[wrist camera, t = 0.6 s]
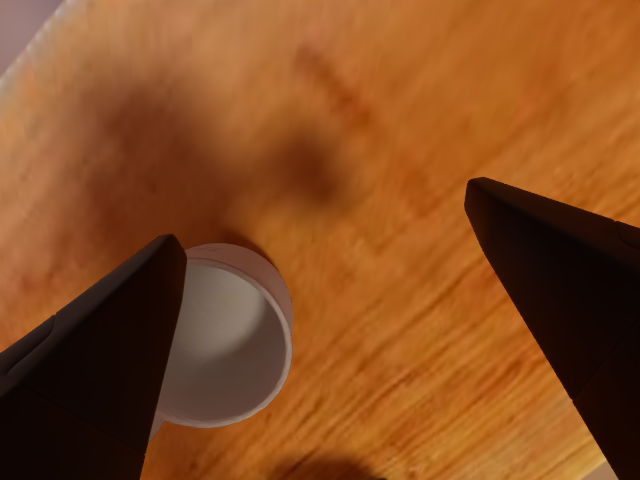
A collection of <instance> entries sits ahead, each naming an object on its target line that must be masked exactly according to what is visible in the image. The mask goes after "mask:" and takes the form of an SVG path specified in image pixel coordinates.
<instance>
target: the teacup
mask: <svg viewBox="0 0 640 480" xmlns="http://www.w3.org/2000/svg"><path fill="white" fill-rule="evenodd" d="M184 251H185V252H186V255H187V267H186V275H185V284H184V292H183V299H182V304H181V309H180V313H179V317H178V321H177V326H176V330H175V334H174V338H173V342H172V346H171V350H170V355H169V359H168V363H167V367H166V371H165V375H164V379H163V384H162V388H161V392H160V396H159V400H158V404H157V408H156V413H155V417H154V421H153V425H152V429H151V433H150V437H149V441H151V440H152V439H153V438H154V436H155V435H156V433H157V432H158V430H159V429H160V427H161V426H162V424H163V422H164V421H168V422H171V423H175V424H178V425H185V426H188V427H196V428H214V427H221V426H226V425H230V424H234V423H237V422H240V421H242V420H244V419H247V418H249V417H251V416H252V415H254V414H255V413H257V412H258V411H260V410H261V409H263V408H264V407H266V406H267V405H268V404H269V403H270V402H271V401H272V400H273V399H274V398H275V396H276V395H277V394H278V393H279V391H280V389H281V388H282V386H283V384H284V382H285V380H286V378H287V375H288V372H289V369H290V366H291V361H292V325H293V312H292V303H291V298H290V294H289V291H288V289H287V286H286V284H285V282H284V280H283V278H282V277H281V275H280V274H279V273H278V271H277V270H276V269H275V267H274V266H273V265H272V264H270V263H269V262H268V261H267V260H266V259H265V258H263V257H262V256H261V255H259V254H257V253H256V252H254V251H252V250H249V249H247V248H244V247H241V246H238V245H233V244H227V243H210V244H203V245H199V246H195V247H192V248H189V249H187V250H184Z"/></svg>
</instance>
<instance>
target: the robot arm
mask: <svg viewBox="0 0 640 480" xmlns="http://www.w3.org/2000/svg"><path fill="white" fill-rule="evenodd" d="M464 207H465V211H466V214H467V216H468V218H469V221H470V223H471V225H472V228H473V230H474V232H475V235H476V237H477V239H478V241H479V244H480V246H481V248H482V250H483V252H484V254H485V256H486V258H487V259H488V261H489V263H490V264H491V266H492V268H493V269H494V271H495V273H496V274H497V276H498V278H499V279H500V281H501V283H502V284H503V286H504V288H505V289H506V291H507V293H508V294H509V296H510V298H511V300H512V301H513V303H514V305H515V306H516V308H517V310H518V311H519V313H520V315H521V316H522V318H523V320H524V321H525V323H526V325H527V326H528V328H529V330H530V331H531V333H532V335H533V336H534V338H535V340H536V341H537V343H538V345H539V346H540V348H541V350H542V351H543V353H544V355H545V357H546V358H547V360H548V362H549V363H550V365H551V367H552V368H553V370H554V372H555V373H556V375H557V377H558V378H559V380H560V382H561V383H562V385H563V387H564V388H565V390H566V392H567V393H568V395H569V397H570V398H571V399H572V400H573V401H572V402H573V404H574V406H575V407H576V409H577V411H578V412H579V414H580V416H581V417H582V419H583V421H584V422H585V424H586V426H587V427H588V429H589V431H590V432H591V434H592V436H593V437H594V439H595V441H596V442H597V444H598V446H599V447H600V449H601V451H602V453H603V454H604V456H605V458H606V459H607V461H608V463H609V464H610V466H611V468H612V469H613V471H614V472H615V474H616V476H617V477H618V479H619V480H640V228H637V227H634V226H631V225H628V224H625V223H622V222H619V221H615V222H614V220H613V219H610V218H607V217H604V216H601V215H598V214H595V213H592V212H589V211H586V210H583V209H580V208H577V207H574V206H571V205H568V204H565V203H562V202H559V201H555V200H552V199H549V198H546V197H543V196H540V195H537V194H534V193H531V192H528V191H525V190H522V189H519V188H516V187H513V186H510V185H507V184H504V183H501V182H498V181H495V180H492V179H489V178H486V177H480V178H474V179H470V180H469V181H468V183H467V188H466V195H465V202H464ZM186 267H187V255H186V252H185V251H184V249H183V247H182V246H181V244H180V243H179V241H178V239H177V238H176V237H175V236H174V235H173V234H167V235H162V236H159V237H157V238H156V239H154V240H153V241H152V242H150V243H149V244H148V245H146V246H145V247H144V248H142V249H141V250H140V251H138V252H137V253H136V254H134V255H133V256H132V257H130V258H129V259H128V260H126V261H125V262H124V263H122V264H121V265H120V266H118V267H117V268H116V269H114V270H113V271H112V272H110V273H109V274H108V275H106V276H105V277H104V278H102V279H101V280H100V281H98V282H97V283H96V284H94V285H93V286H92V287H90V288H89V289H87V290H86V291H85V292H83V293H82V294H81V295H79V296H78V297H77V298H75V299H74V300H73V301H71V302H70V303H69V304H67V305H66V306H65V307H63V308H62V309H61V310H59V311H58V312H57V313H56V315H53V316H51V317H50V318H49V319H47V320H46V321H45V322H43V323H42V324H41V325H39V326H38V327H36V328H35V329H34V330H32V331H31V332H30V333H28V334H27V335H25V336H24V337H23V338H21V339H20V340H19V341H17V342H16V343H14V344H13V345H11V346H10V347H9V348H7V349H6V350H4V351H3V352H1V353H0V480H140V475H141V471H142V467H143V463H144V459H145V455H144V454H145V453H146V450H147V446H148V442H149V437H150V433H151V429H152V425H153V421H154V417H155V413H156V408H157V404H158V400H159V396H160V392H161V388H162V384H163V379H164V375H165V371H166V367H167V363H168V359H169V355H170V350H171V346H172V342H173V338H174V334H175V330H176V326H177V321H178V317H179V313H180V309H181V304H182V299H183V292H184V284H185V275H186Z"/></svg>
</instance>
